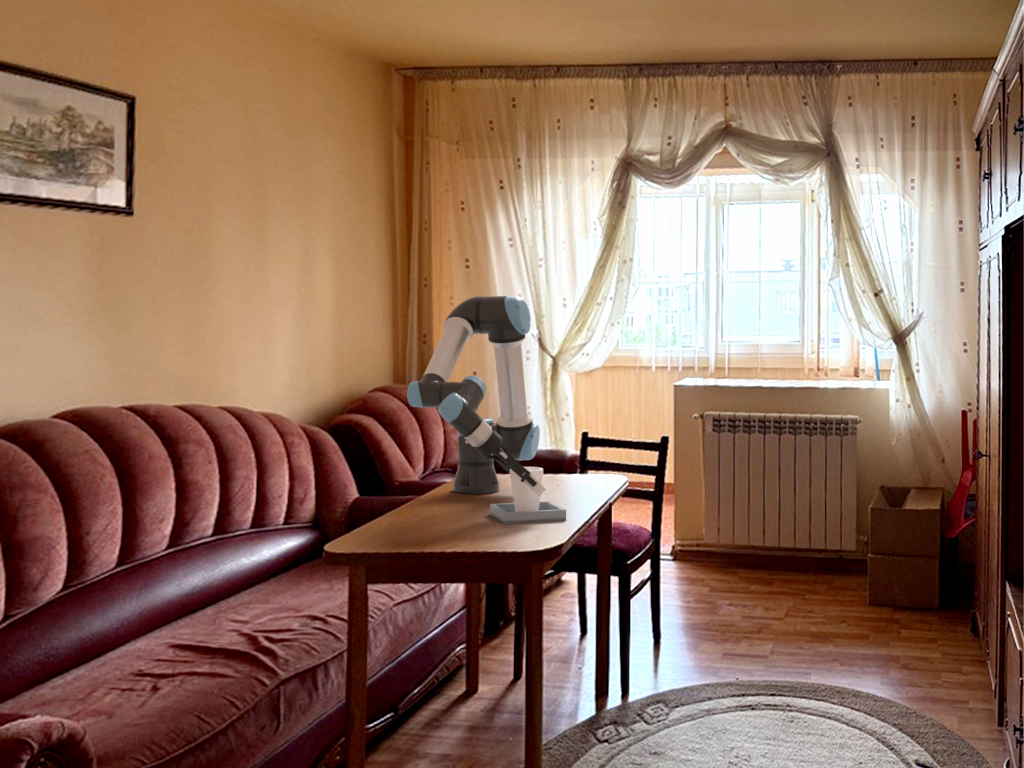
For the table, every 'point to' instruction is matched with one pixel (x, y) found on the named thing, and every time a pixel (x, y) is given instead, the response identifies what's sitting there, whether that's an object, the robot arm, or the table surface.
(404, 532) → the table surface
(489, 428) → the robot arm
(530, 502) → the foam cup
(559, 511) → the tray
